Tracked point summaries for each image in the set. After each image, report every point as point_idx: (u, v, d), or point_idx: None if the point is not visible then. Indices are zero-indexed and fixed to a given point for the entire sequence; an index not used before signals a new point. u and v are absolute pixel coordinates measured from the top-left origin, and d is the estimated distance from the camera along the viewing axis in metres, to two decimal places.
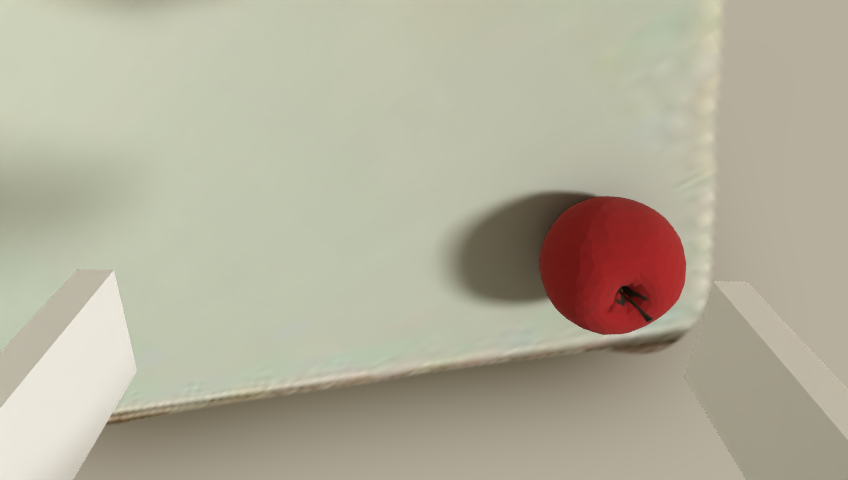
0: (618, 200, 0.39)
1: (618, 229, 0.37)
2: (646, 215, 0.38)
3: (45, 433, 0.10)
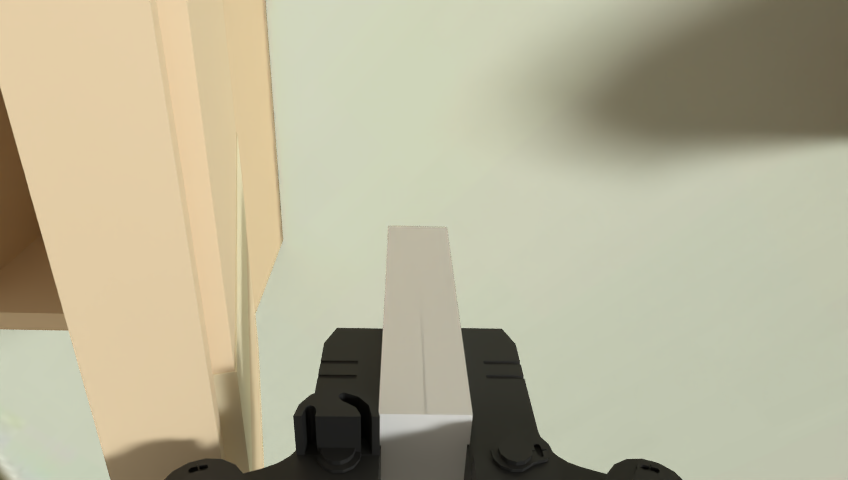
0: None
1: None
2: None
3: None
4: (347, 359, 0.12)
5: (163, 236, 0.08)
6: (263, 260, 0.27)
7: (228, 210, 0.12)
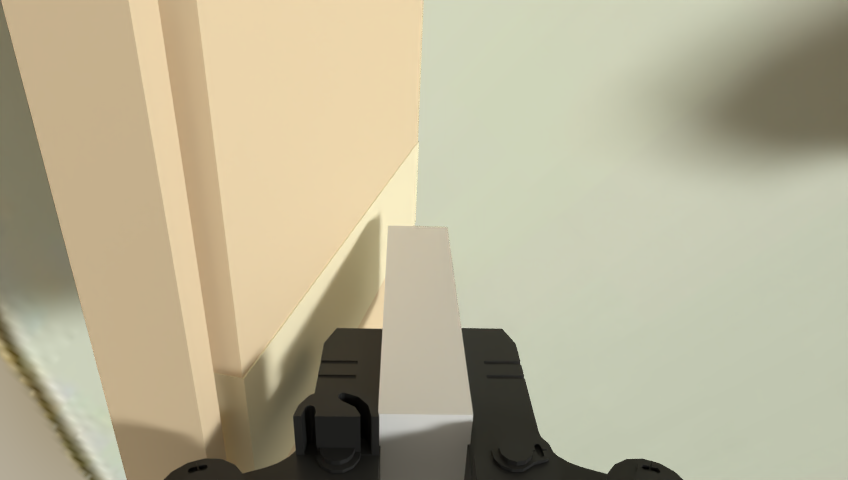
0: None
1: None
2: None
3: None
4: (347, 359, 0.12)
5: (149, 231, 0.08)
6: None
7: (316, 216, 0.12)
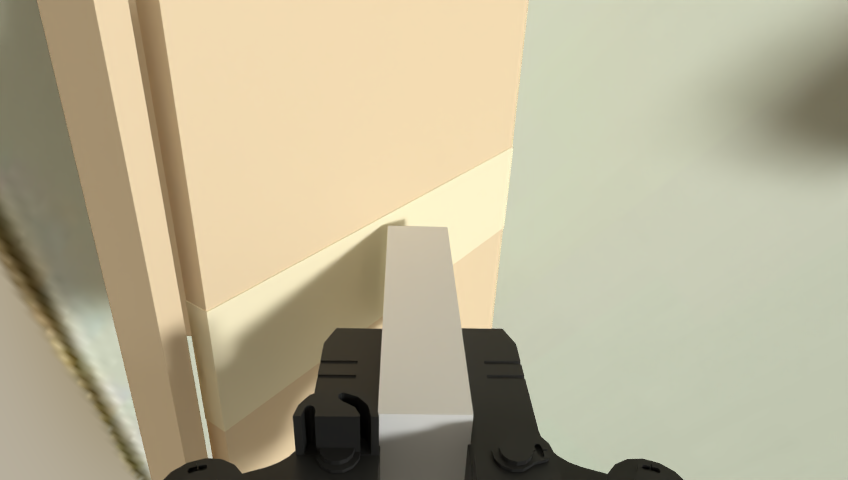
0: None
1: None
2: None
3: None
4: (347, 359, 0.12)
5: (118, 168, 0.10)
6: None
7: (325, 191, 0.13)
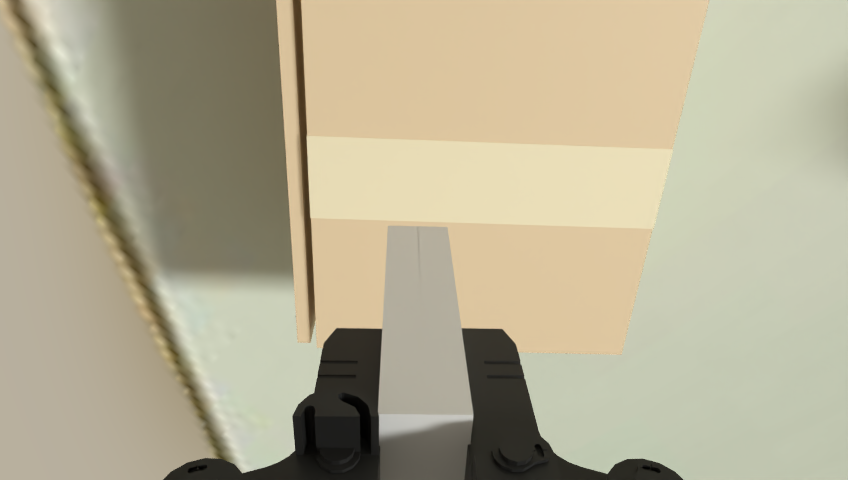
0: None
1: None
2: None
3: None
4: (347, 359, 0.12)
5: None
6: None
7: (408, 99, 0.20)
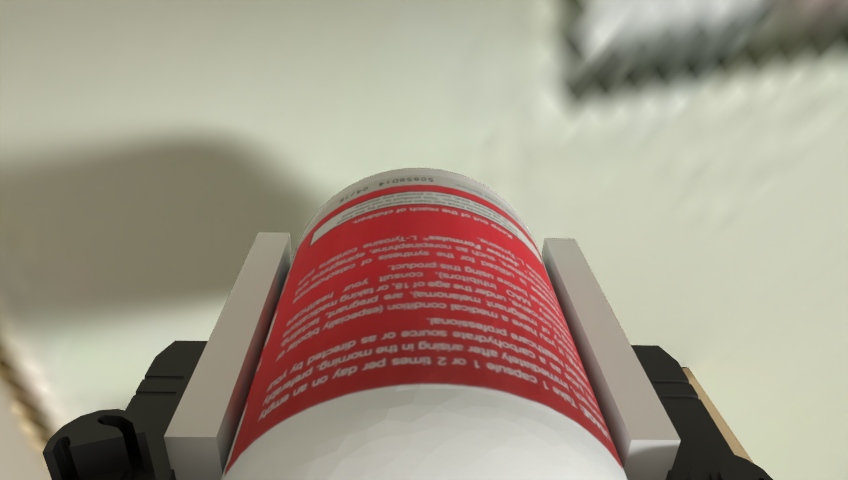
0: None
1: None
2: None
3: None
4: (173, 374, 0.11)
5: None
6: None
7: None
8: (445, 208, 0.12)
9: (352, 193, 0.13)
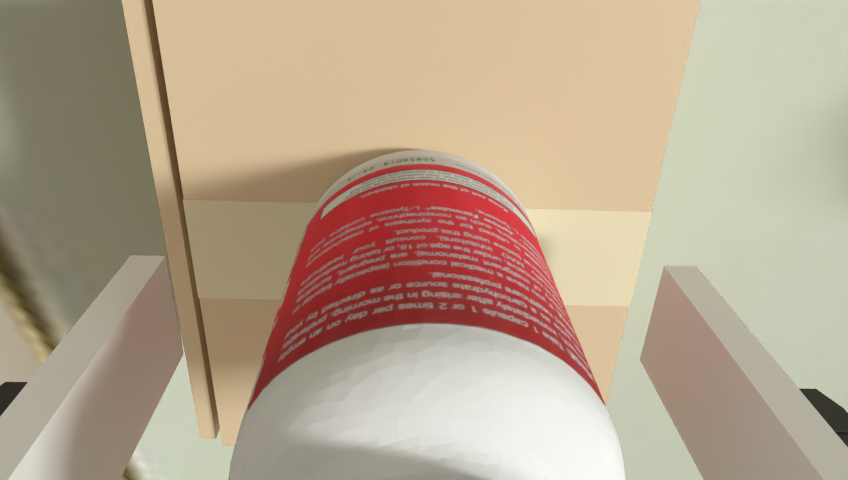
0: None
1: None
2: None
3: (112, 407, 0.11)
4: None
5: None
6: None
7: (309, 153, 0.15)
8: (445, 183, 0.13)
9: (359, 172, 0.14)
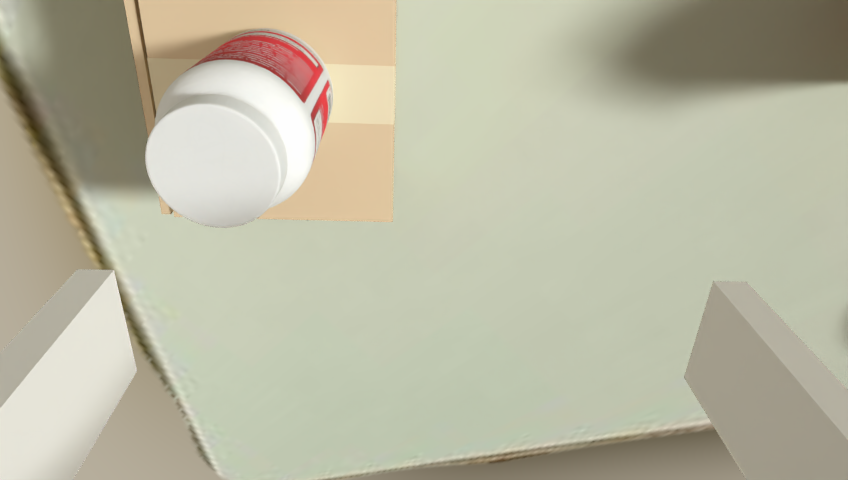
0: None
1: None
2: None
3: (45, 433, 0.10)
4: None
5: None
6: None
7: (211, 31, 0.30)
8: (267, 36, 0.27)
9: None
